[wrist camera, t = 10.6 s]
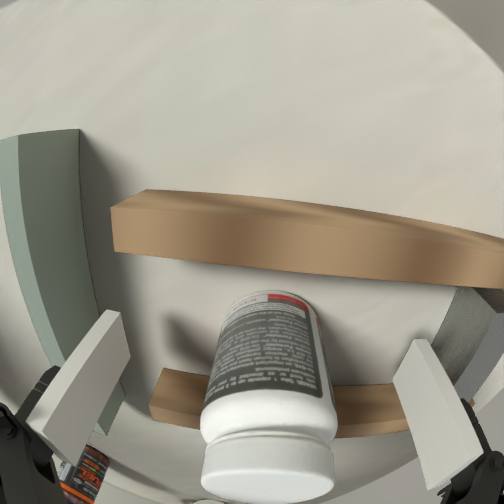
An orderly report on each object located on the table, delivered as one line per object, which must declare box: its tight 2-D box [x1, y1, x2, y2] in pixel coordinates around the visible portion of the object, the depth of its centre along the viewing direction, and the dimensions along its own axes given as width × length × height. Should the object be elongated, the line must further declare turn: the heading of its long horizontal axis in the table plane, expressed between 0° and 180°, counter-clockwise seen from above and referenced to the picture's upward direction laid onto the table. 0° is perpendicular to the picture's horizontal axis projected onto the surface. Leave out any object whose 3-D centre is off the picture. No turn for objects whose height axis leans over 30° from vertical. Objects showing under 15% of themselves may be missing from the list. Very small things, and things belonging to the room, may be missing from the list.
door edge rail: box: [0, 129, 125, 436], centre depth 12 cm, size 2×18×4 cm, turn 176°
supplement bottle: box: [57, 445, 109, 504], centre depth 20 cm, size 6×6×11 cm
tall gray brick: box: [431, 286, 504, 403], centre depth 11 cm, size 3×7×4 cm, turn 175°
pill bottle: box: [200, 290, 338, 504], centre depth 10 cm, size 5×5×8 cm
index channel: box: [110, 189, 504, 438], centre depth 12 cm, size 21×12×3 cm, turn 85°
